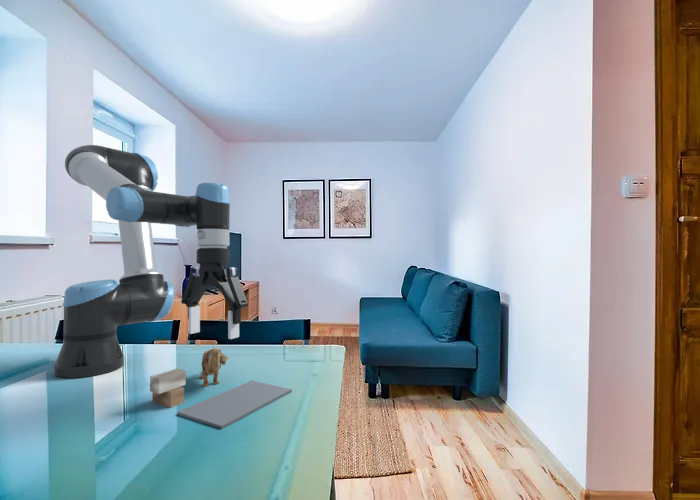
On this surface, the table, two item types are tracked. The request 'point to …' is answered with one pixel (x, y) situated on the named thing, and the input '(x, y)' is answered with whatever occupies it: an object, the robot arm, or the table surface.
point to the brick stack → (168, 387)
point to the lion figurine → (212, 364)
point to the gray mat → (234, 404)
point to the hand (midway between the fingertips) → (213, 335)
